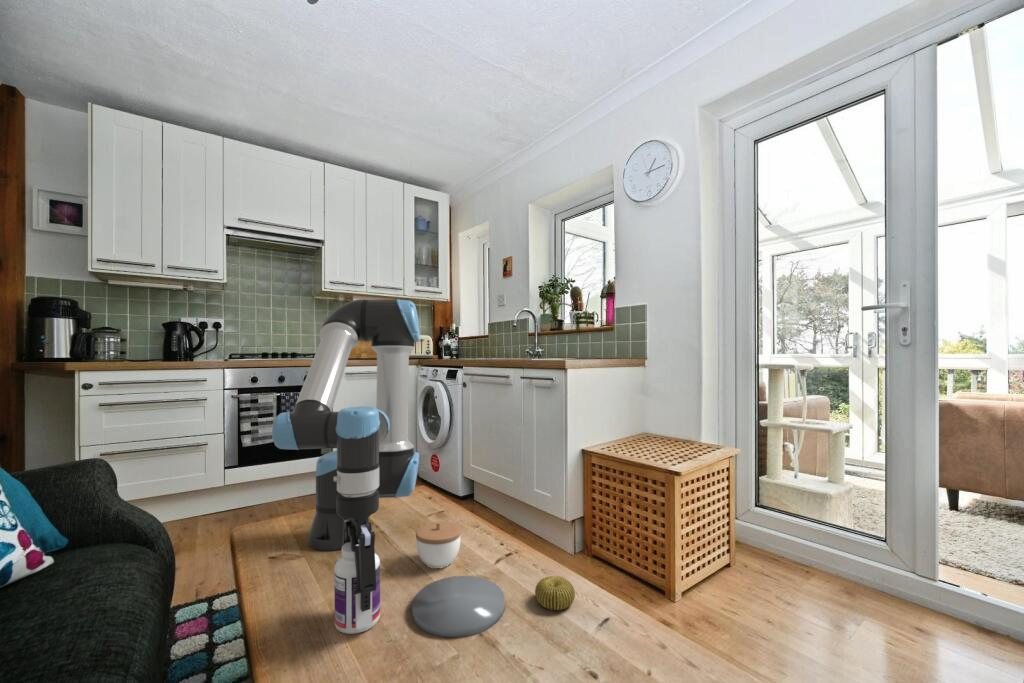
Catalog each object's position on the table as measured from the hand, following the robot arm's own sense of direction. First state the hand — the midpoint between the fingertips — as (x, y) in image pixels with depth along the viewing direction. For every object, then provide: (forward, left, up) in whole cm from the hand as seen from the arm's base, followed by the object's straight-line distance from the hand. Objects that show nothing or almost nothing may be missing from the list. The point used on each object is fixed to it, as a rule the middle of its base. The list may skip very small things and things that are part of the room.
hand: (357, 613), depth 81 cm
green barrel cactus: (+15, +35, -2) cm, 38 cm away
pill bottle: (0, 0, -2) cm, 2 cm away
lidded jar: (-13, +22, -2) cm, 26 cm away
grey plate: (+6, +18, -2) cm, 19 cm away
